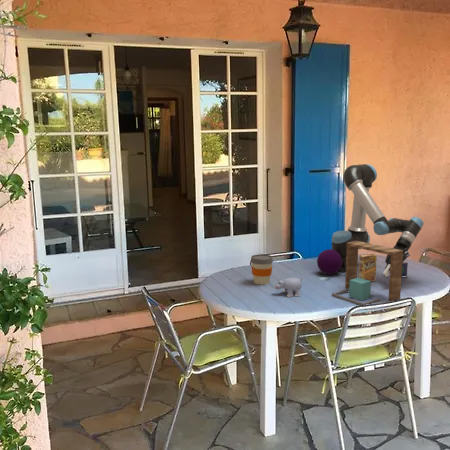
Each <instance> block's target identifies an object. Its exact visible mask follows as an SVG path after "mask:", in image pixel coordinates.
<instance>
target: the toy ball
mask: <svg viewBox="0 0 450 450" xmlns="http://www.w3.org/2000/svg"><path fill="white" fill-rule="evenodd" d="M316 265H317V267H318V269H319V270H320V271H321V272H322V273H324V274H326V275H334V274H337V273H338V271H339V270H340V268H341V267H342V258H341V256H340V254H339V253H338V252H337V251H335V250H332V248H330V249H325V250H323V251H321V252H320V253H319V255H318V256H317V260H316Z"/></svg>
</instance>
